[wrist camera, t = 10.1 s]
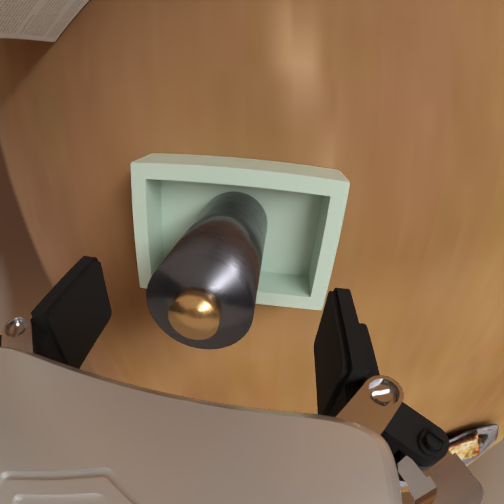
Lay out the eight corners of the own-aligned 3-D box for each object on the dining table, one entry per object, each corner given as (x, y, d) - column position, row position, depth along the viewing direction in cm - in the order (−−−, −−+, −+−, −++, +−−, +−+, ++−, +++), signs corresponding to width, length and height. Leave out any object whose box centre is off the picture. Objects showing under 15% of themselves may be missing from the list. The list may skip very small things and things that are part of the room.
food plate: (372, 460, 38) (374, 478, 35) (498, 400, 31) (505, 416, 28) (398, 484, 48) (400, 497, 44) (489, 442, 40) (494, 454, 37)
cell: (203, 189, 20) (131, 262, 11) (269, 193, 20) (255, 275, 10) (203, 249, 22) (147, 352, 12) (265, 255, 22) (248, 367, 12)
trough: (152, 153, 20) (130, 162, 17) (338, 170, 20) (350, 182, 17) (156, 264, 24) (140, 287, 21) (317, 283, 24) (321, 310, 21)
